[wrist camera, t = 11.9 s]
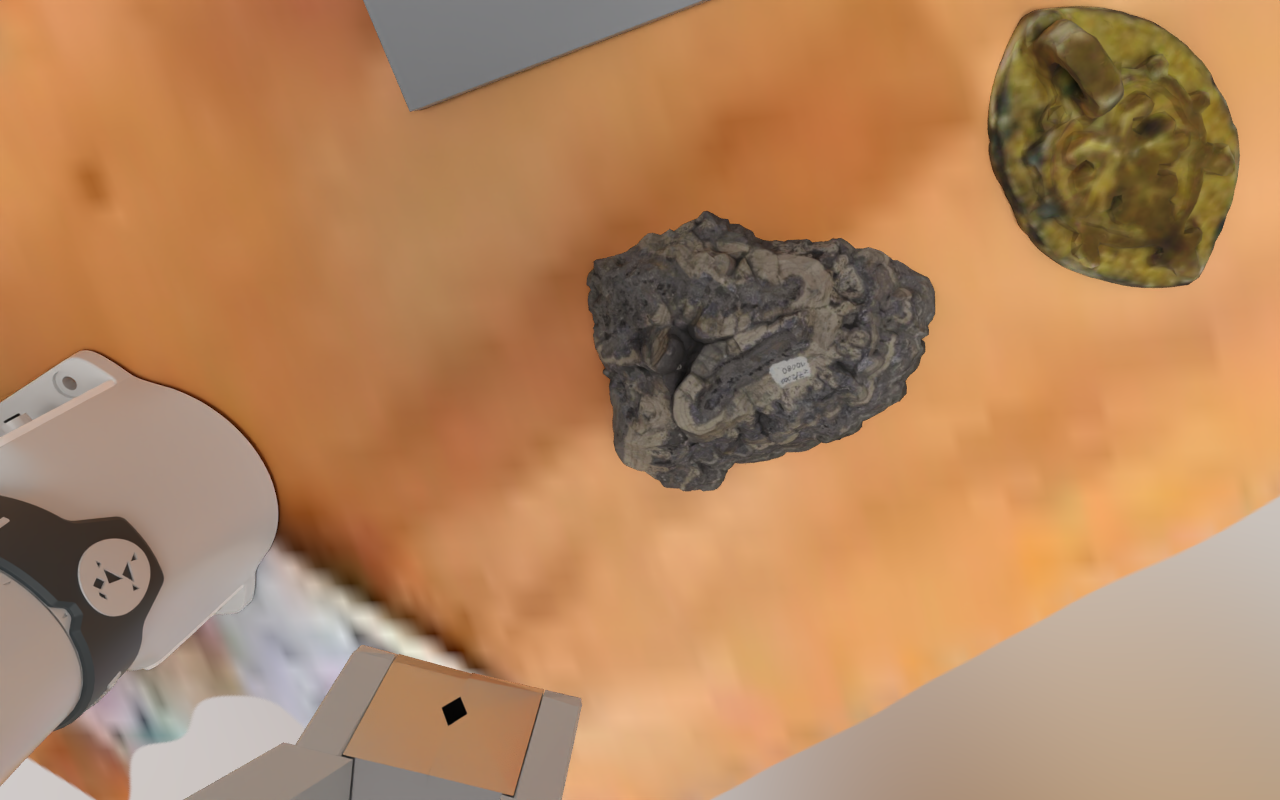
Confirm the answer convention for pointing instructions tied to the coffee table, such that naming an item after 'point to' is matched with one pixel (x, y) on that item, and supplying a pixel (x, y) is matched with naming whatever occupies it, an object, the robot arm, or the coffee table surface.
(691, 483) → the fossil rock
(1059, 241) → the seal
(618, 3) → the dial board
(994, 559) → the coffee table surface
